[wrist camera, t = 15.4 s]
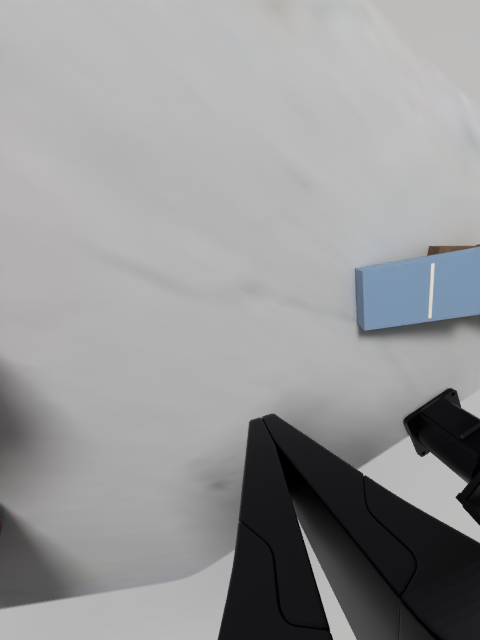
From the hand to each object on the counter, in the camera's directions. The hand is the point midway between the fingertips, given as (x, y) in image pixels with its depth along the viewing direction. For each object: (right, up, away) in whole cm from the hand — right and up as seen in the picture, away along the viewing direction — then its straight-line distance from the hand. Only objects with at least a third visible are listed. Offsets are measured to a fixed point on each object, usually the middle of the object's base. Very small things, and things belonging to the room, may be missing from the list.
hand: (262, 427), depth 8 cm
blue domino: (+9, +5, +13) cm, 16 cm away
